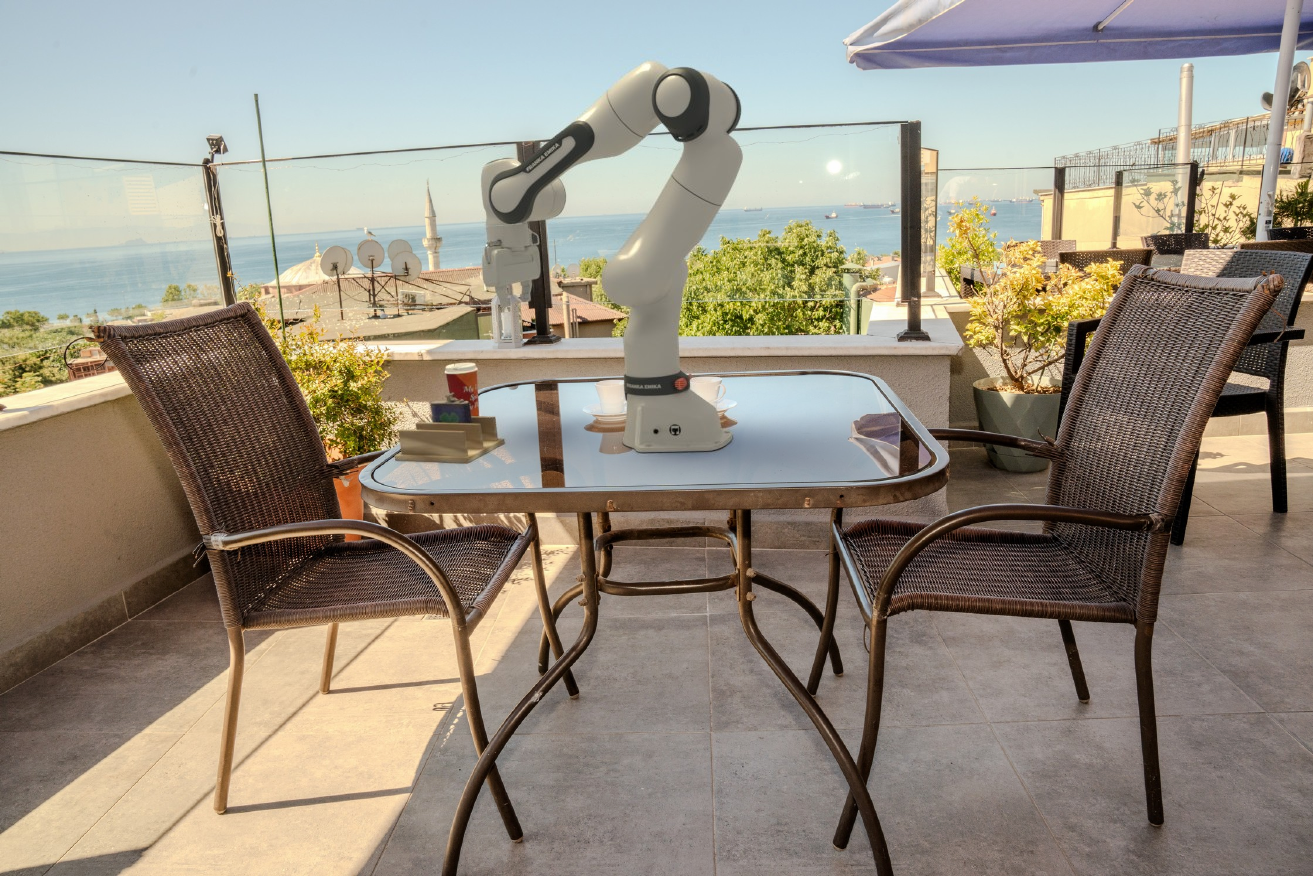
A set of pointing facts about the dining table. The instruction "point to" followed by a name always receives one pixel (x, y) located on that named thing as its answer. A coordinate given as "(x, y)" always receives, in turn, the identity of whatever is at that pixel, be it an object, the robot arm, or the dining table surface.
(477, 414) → the paper cup
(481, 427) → the rack
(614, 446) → the dining table surface
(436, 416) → the flask
